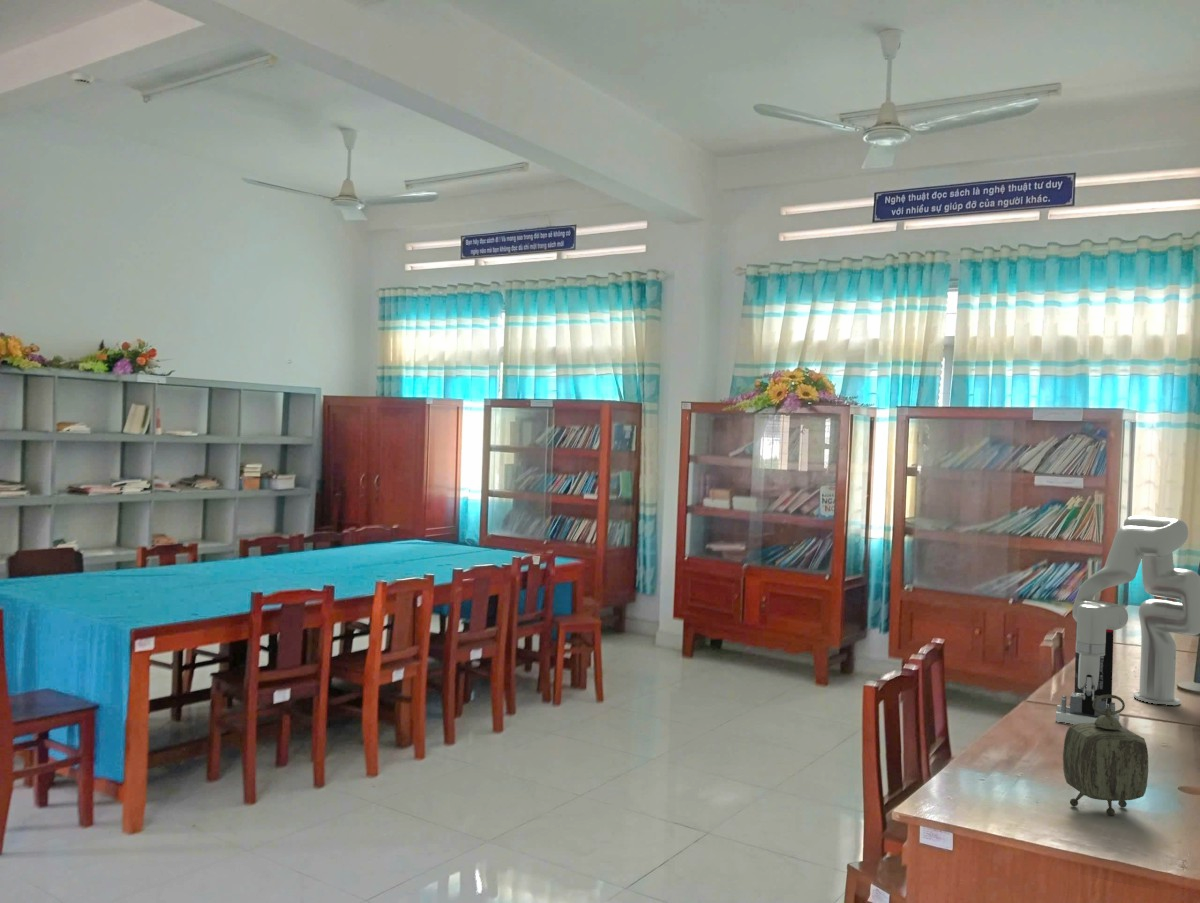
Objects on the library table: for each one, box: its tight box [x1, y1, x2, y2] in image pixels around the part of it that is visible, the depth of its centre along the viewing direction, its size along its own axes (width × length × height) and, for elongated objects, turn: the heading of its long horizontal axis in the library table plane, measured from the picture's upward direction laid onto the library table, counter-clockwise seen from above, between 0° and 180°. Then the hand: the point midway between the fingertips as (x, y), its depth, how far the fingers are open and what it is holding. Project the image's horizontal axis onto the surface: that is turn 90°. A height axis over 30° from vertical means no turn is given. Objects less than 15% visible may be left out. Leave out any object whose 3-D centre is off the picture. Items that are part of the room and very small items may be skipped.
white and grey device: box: [1055, 695, 1121, 725], centre depth 275 cm, size 11×16×6 cm
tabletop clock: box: [1062, 694, 1149, 817], centre depth 205 cm, size 14×9×25 cm, turn 92°
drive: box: [1069, 691, 1107, 718], centre depth 275 cm, size 6×9×5 cm, turn 59°
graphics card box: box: [1074, 621, 1115, 708], centre depth 294 cm, size 17×7×27 cm, turn 168°
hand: (1088, 710), depth 275 cm, fingers closed on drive, 5 cm apart
